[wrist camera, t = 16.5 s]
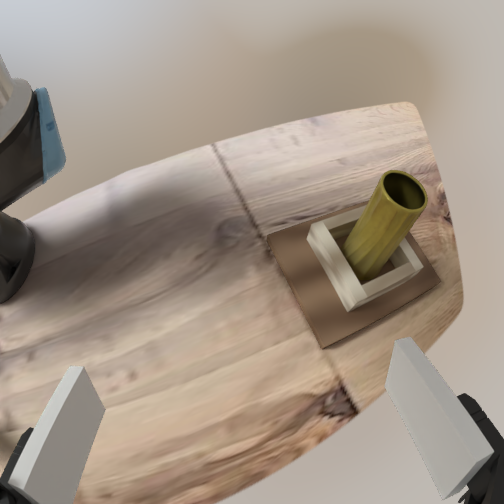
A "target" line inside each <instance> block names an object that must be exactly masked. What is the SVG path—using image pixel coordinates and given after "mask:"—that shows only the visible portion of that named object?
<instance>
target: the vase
mask: <svg viewBox="0 0 504 504" xmlns="http://www.w3.org/2000/svg"><path fill="white" fill-rule="evenodd" d="M427 202H428V198H427V194H426V191H425V189H424V187H423V186H422V184H421V183H420V182H419V181H418V180H417V179H415V178H414V177H413V176H411V175H410V174H408V173H406V172H403V171H398V170H390V171H387V172H386V173H384V174H383V175H382V177H381V178H380V180H379V182H378V185H377V187H376V189H375V190H374V192H373V194H372V196H371V198H370V200H369V202H368V204H367V206H366V208H365V209H364V211H363V213H362V215H361V216H360V218H359V220H358V221H357V223H356V225H355V227H354V228H353V230H352V231H351V233H350V235H349V236H348V238H347V240H346V241H345V243H344V244H343V245H342V247H341V249H340V250H341V252H342V254H343V255H344V257H345V259H346V260H347V262H348V264H349V265H350V267H351V269H352V271H353V272H354V274H355V276H356V277H357V279H358V280H370V279H373V278H375V277H376V276H377V275H378V274H379V273H380V271H381V269H382V267H383V266H384V264H385V263H386V262H387V261H388V259H389V258H390V256H391V255H392V254H393V252H394V251H395V250H396V248H397V247H398V246H399V244H400V243H401V242H402V240H403V239H404V237H405V236H406V234H407V233H408V232H409V230H410V229H411V227H412V226H413V224H414V223H415V222H416V220H417V219H418V217H419V216H420V215H421V213H422V212H423V210H424V209H425V208H426V205H427Z"/></svg>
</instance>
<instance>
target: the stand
mask: <svg viewBox="0 0 504 504" xmlns="http://www.w3.org/2000/svg"><path fill="white" fill-rule="evenodd" d="M368 202H369V201H366V202H363V203H360V204H357V205H354V206H351V207H348V208H345V209H342V210H339V211H336V212H333V213H330V214H327V215H324V216H321V217H318V218H315V219H313V220H310V221H307V222H304V223H301V224H298V225H295V226H292V227H289V228H286V229H283V230H280V231H278V232H275V233H272V234H269V235H267V242H268V244H269V246H270V248H271V250H272V252H273V254H274V256H275V258H276V260H277V262H278V264H279V266H280V268H281V270H282V271H283V273H284V275H285V277H286V279H287V281H288V283H289V285H290V287H291V289H292V291H293V293H294V295H295V297H296V299H297V301H298V303H299V305H300V307H301V309H302V311H303V313H304V315H305V317H306V319H307V321H308V323H309V325H310V327H311V329H312V331H313V333H314V335H315V337H316V339H317V341H318V343H319V345H320V347H321V349H323V348H326V347H328V346H330V345H332V344H334V343H336V342H338V341H340V340H342V339H344V338H346V337H348V336H349V335H351V334H353V333H355V332H357V331H359V330H361V329H363V328H365V327H367V326H368V325H370V324H372V323H374V322H376V321H377V320H379V319H381V318H383V317H385V316H386V315H388V314H390V313H392V312H393V311H395V310H397V309H399V308H400V307H402V306H404V305H405V304H407V303H409V302H410V301H412V300H414V299H415V298H417V297H419V296H420V295H422V294H423V293H425V292H427V291H428V290H430V289H431V288H433V287H434V286H436V285H437V284H438V283H440V282H441V281H440V279H439V277H438V276H437V274H436V272H435V271H434V269H433V267H432V266H431V264H430V263H429V261H428V259H427V258H426V256H425V255H424V253H423V252H422V250H421V248H420V247H419V245H418V244H417V242H416V241H415V239H414V238H413V236H412V235H411V233H410V232H408V233H407V234H406V236H405V237H404V239H403V240H402V242H401V243H400V244H399V246H398V247H397V248H396V250H395V251H394V252H393V254H392V255H391V256H390V258H389V259H388V261H387V262H386V263H385V264H384V266H383V267H382V269H381V271H380V273H379V274H378V275H377V276H376V277H375V278H373V279H370V280H358V279H357V277H356V276H355V274H354V272H353V271H352V269H351V267H350V265H349V264H348V262H347V260H346V259H345V257H344V255H343V254H342V252H341V250H340V249H341V247H342V245H343V244H344V243H345V241H346V240H347V238H348V236H349V235H350V233H351V231H352V230H353V228H354V227H355V225H356V223H357V221H358V220H359V218H360V216H361V215H362V213H363V211H364V209H365V208H366V206H367V204H368Z"/></svg>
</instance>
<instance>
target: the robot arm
mask: <svg viewBox="0 0 504 504" xmlns="http://www.w3.org/2000/svg"><path fill="white" fill-rule="evenodd" d="M65 162H66V156H65V152H64V149H63V146H62V142H61V138H60V135H59V132H58V128H57V124H56V121H55V118H54V113H53V110H52V106H51V102H50V98H49V95H48V92H47V89H46V88H44V87H43V88H40V89H39V88H38V89H36V90H35V91H34V92H33V91H32V89H31V86H30V85H29V83H28V82H27V81H26V80H24V79H12V78H11V77H10V74H9V72H8V70H7V68H6V66H5V64H4V62H3V60H2V57H1V55H0V303H2V302H4V301H6V300H7V299H9V298H10V297H11V296H12V295H14V294H15V293H16V291H17V290H18V289H19V288H20V286H21V285H22V284H23V282H24V280H25V279H26V277H27V275H28V273H29V270H30V268H31V265H32V261H33V257H34V249H35V245H34V238H33V235H32V233H31V231H30V230H29V229H28V228H27V227H26V226H25V224H24V223H23V222H21V221H20V220H18V219H16V218H12V217H10V216H8V215H7V214H5V213H3V212H2V210H3V209H5V208H6V207H8V206H9V205H11V204H12V203H14V202H15V201H17V200H18V199H20V198H21V197H23V196H24V195H26V194H28V193H29V192H31V191H32V190H34V189H35V188H37V187H39V186H40V185H42V184H44V183H46V181H47V180H48V179H50V178H51V177H53V176H54V175H55V174H57V173H58V172H60V171H61V170H62V169H63V167H64V165H65ZM385 388H386V390H387V392H388V394H389V396H390V398H391V399H392V401H393V403H394V405H395V407H396V409H397V410H398V412H399V414H400V416H401V418H402V420H403V422H404V424H405V426H406V427H407V429H408V431H409V433H410V435H411V437H412V439H413V441H414V443H415V445H416V447H417V449H418V451H419V453H420V455H421V456H422V459H423V461H424V462H425V465H426V467H427V469H428V471H429V473H430V475H431V477H432V479H433V481H434V483H435V485H436V487H437V489H438V491H439V493H440V496H441V498H442V500H444V499H447V498H448V497H450V496H453V495H454V494H456V493H458V492H460V491H461V490H462V489H463V488H464V487H465V485H467V486H468V488H469V490H468V491H467V492H466V493H465V494H464V495H463V496H462V497H461V498H460V500H459V501H458V503H461V502H462V501H463V500H464V499H465V501H464V504H504V439H503V437H502V436H501V435H500V433H499V432H498V430H497V429H496V428H495V426H494V425H493V423H492V422H491V421H490V419H489V418H487V415H486V414H485V412H484V411H482V409H481V407H480V406H479V404H478V403H477V402H476V400H475V399H473V398H472V397H470V396H468V395H467V394H465V393H464V394H461V395H459V396H457V397H456V395H455V394H454V393H453V391H452V390H451V389H450V387H449V386H448V385H447V383H446V382H445V381H444V379H443V378H442V377H441V375H440V374H439V373H438V372H437V370H436V369H435V367H434V366H433V365H432V363H431V362H430V361H429V360H428V358H427V357H426V356H425V354H424V353H423V352H422V351H421V349H420V348H419V347H418V346H417V344H416V343H415V342H414V341H413V339H412V338H411V337H407V338H403V339H398V340H395V343H394V348H393V353H392V358H391V362H390V366H389V371H388V375H387V379H386V383H385ZM105 410H106V409H105V407H104V406H103V404H102V402H101V400H100V398H99V396H98V394H97V392H96V390H95V388H94V386H93V384H92V382H91V380H90V378H89V376H88V374H87V372H86V370H85V368H84V367H82V366H70V367H69V368H68V370H67V372H66V373H65V375H64V377H63V378H62V380H61V382H60V383H59V385H58V387H57V389H56V390H55V392H54V394H53V395H52V397H51V399H50V401H49V402H48V404H47V406H46V408H45V410H44V411H43V413H42V415H41V417H40V419H39V420H38V422H37V424H36V426H35V428H31V427H30V428H29V429H28V430H27V431H26V432H25V433H24V434H22V436H21V438H20V440H19V442H18V443H17V446H16V447H15V449H14V451H13V452H14V453H12V455H11V457H10V459H9V461H8V463H7V465H6V467H5V469H4V472H3V474H2V476H1V478H0V504H73V501H74V498H75V494H76V491H77V488H78V485H79V482H80V479H81V476H82V473H83V470H84V467H85V464H86V461H87V458H88V455H89V453H90V450H91V447H92V444H93V442H94V439H95V436H96V433H97V431H98V428H99V425H100V423H101V420H102V418H103V415H104V413H105Z"/></svg>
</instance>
